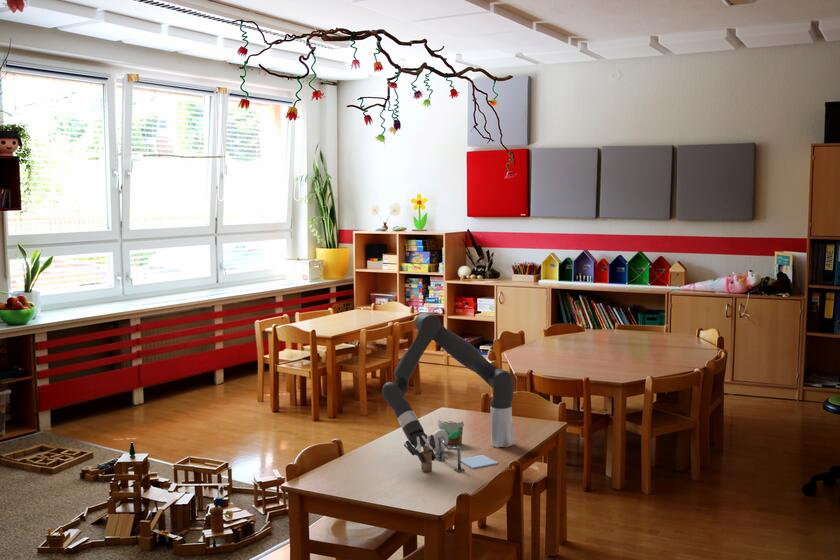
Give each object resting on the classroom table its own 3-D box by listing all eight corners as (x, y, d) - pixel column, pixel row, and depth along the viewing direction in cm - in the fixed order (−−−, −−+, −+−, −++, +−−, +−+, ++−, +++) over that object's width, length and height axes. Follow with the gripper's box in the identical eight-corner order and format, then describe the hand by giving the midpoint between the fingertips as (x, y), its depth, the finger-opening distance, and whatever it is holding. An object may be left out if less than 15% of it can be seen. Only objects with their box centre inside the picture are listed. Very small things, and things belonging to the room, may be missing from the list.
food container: (433, 444, 348) (433, 422, 347) (438, 441, 354) (438, 419, 353) (460, 447, 343) (459, 424, 343) (464, 443, 349) (464, 421, 348)
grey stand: (441, 458, 330) (441, 435, 329) (464, 471, 313) (463, 446, 312) (435, 459, 328) (434, 436, 327) (457, 472, 311) (457, 448, 310)
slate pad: (482, 456, 331) (482, 454, 331) (498, 463, 320) (498, 462, 320) (457, 460, 325) (457, 459, 325) (472, 469, 315) (472, 467, 315)
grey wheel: (435, 456, 333) (434, 432, 332) (429, 454, 335) (428, 431, 334) (450, 450, 340) (449, 427, 339) (443, 448, 342) (443, 426, 342)
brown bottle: (429, 467, 316) (428, 444, 315) (433, 470, 313) (433, 446, 312) (419, 469, 314) (418, 445, 314) (424, 472, 311) (423, 448, 310)
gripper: (399, 422, 314) (418, 460, 305) (428, 416, 322) (447, 452, 313) (392, 433, 318) (411, 469, 310) (421, 426, 327) (439, 462, 318)
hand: (429, 460), depth 312 cm, fingers closed on brown bottle, 4 cm apart
